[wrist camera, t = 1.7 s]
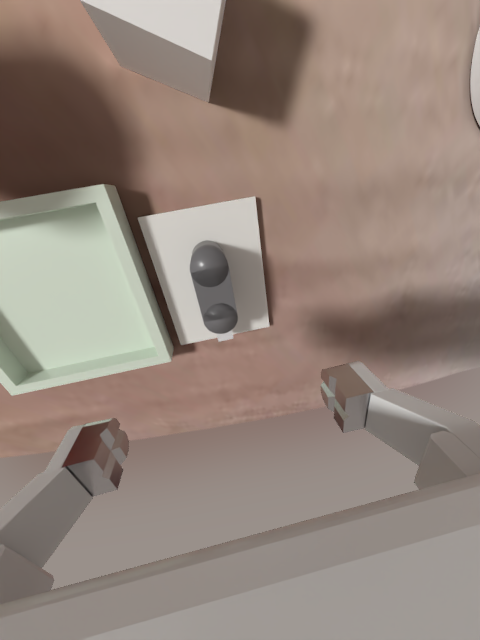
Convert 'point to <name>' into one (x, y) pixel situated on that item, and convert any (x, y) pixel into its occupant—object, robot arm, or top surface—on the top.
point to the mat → (240, 251)
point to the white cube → (163, 39)
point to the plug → (214, 289)
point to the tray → (73, 292)
